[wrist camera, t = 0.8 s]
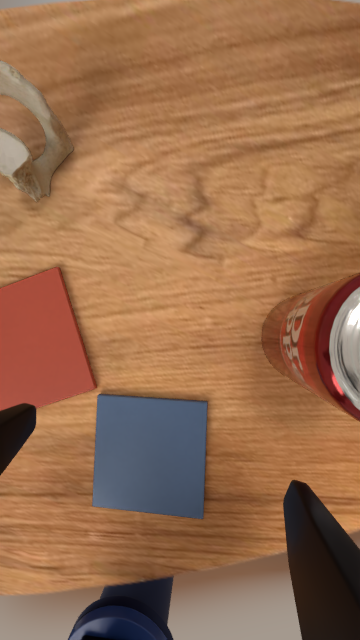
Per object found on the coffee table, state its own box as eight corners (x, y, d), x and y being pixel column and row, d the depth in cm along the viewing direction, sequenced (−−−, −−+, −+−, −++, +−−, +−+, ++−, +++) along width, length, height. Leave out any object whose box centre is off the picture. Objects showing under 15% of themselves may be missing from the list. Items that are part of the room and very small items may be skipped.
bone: (-13, 217, 24) (-130, 70, 15) (8, 180, 27) (-78, 45, 19) (78, 207, 23) (9, 52, 15) (87, 171, 27) (36, 30, 19)
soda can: (253, 370, 22) (307, 420, 10) (267, 289, 22) (337, 246, 10) (339, 387, 22) (505, 461, 10) (354, 303, 22) (536, 273, 10)
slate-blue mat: (203, 515, 22) (203, 519, 22) (94, 502, 23) (92, 506, 23) (207, 401, 23) (207, 402, 22) (99, 393, 24) (97, 395, 23)
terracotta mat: (97, 387, 24) (95, 388, 23) (-16, 424, 25) (-20, 426, 24) (59, 267, 24) (56, 266, 24) (-48, 308, 26) (-53, 308, 25)
